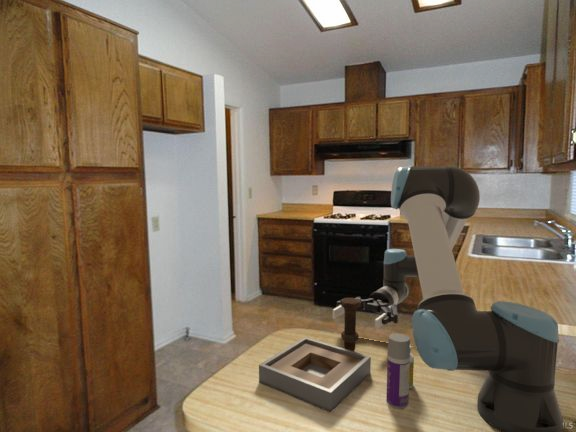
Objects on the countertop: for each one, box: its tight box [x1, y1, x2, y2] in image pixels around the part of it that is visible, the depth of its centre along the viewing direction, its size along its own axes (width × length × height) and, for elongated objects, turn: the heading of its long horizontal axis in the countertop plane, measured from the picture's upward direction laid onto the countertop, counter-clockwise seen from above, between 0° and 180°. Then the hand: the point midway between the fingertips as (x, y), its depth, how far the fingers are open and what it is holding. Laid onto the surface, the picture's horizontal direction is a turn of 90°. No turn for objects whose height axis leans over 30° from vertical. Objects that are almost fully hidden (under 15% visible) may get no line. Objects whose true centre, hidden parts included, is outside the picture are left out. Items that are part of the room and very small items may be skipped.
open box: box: [258, 336, 372, 413], centre depth 94 cm, size 20×20×4 cm
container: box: [385, 332, 411, 410], centre depth 83 cm, size 5×5×15 cm
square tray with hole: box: [270, 343, 361, 389], centre depth 94 cm, size 18×18×3 cm
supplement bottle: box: [409, 344, 415, 389], centre depth 91 cm, size 5×5×10 cm
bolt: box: [339, 297, 361, 352], centre depth 108 cm, size 6×5×15 cm
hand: (353, 319), depth 111 cm, fingers open, 13 cm apart
